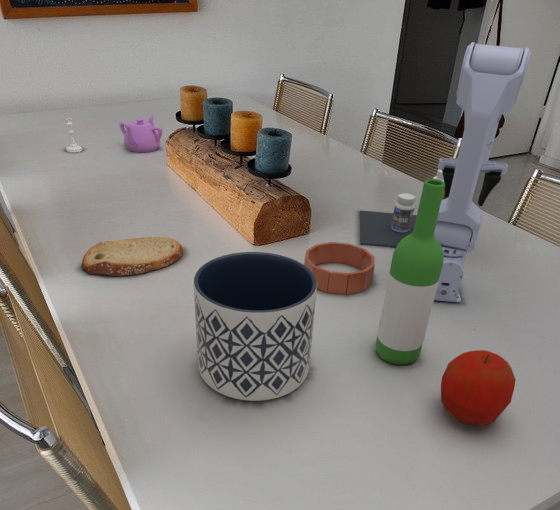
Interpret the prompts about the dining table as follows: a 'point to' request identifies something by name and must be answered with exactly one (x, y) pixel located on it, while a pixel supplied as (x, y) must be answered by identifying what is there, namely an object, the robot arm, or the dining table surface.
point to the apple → (477, 387)
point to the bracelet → (341, 254)
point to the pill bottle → (403, 213)
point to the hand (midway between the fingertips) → (462, 203)
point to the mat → (380, 229)
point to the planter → (254, 324)
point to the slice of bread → (131, 256)
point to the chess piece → (72, 138)
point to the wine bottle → (412, 283)
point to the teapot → (141, 135)
